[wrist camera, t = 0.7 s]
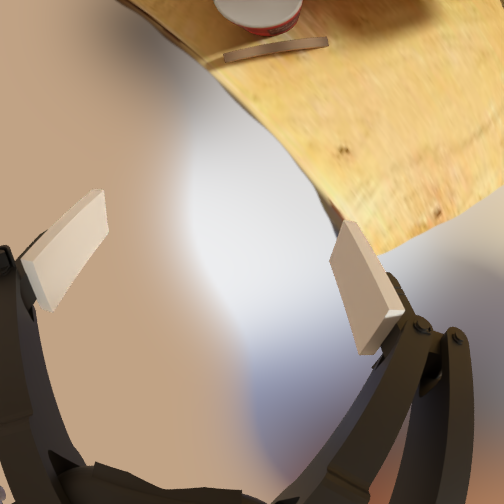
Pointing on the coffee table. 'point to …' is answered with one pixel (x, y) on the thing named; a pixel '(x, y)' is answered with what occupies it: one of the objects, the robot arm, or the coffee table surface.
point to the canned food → (261, 14)
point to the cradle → (276, 48)
